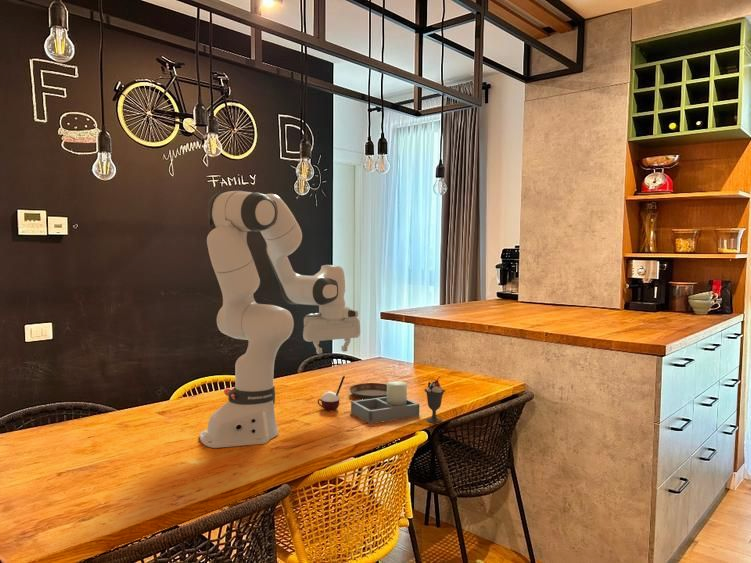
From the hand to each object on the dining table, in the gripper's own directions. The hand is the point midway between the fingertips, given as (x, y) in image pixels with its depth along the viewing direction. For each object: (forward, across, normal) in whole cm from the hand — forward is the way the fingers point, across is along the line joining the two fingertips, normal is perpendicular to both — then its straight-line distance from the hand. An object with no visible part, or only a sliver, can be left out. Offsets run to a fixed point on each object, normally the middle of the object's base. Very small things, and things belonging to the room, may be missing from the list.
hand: (332, 352), depth 192 cm
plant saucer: (+21, +21, +10) cm, 31 cm away
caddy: (+20, +14, -13) cm, 28 cm away
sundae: (+20, +24, -26) cm, 41 cm away
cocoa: (+20, 0, 0) cm, 20 cm away
